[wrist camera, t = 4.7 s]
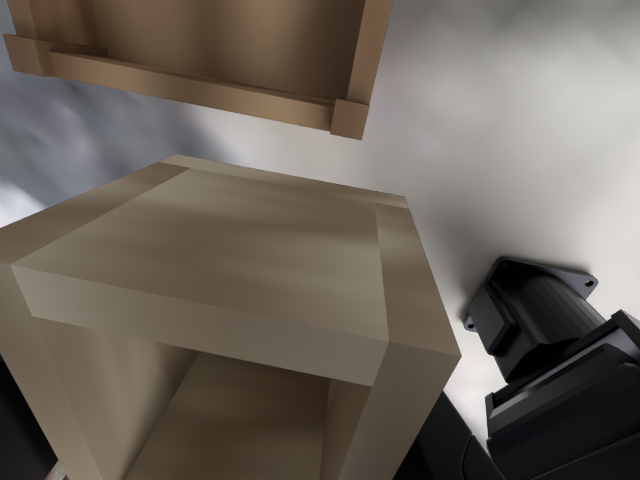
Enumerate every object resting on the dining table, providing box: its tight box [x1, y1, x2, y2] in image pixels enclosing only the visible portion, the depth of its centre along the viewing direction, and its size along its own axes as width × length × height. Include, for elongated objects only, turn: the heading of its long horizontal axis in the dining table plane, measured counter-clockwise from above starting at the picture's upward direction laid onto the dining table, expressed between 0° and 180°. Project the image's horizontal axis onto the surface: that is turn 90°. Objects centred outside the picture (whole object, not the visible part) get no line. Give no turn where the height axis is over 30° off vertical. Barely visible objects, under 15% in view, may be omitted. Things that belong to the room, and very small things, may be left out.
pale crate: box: [0, 154, 462, 480], centre depth 7 cm, size 6×7×5 cm
